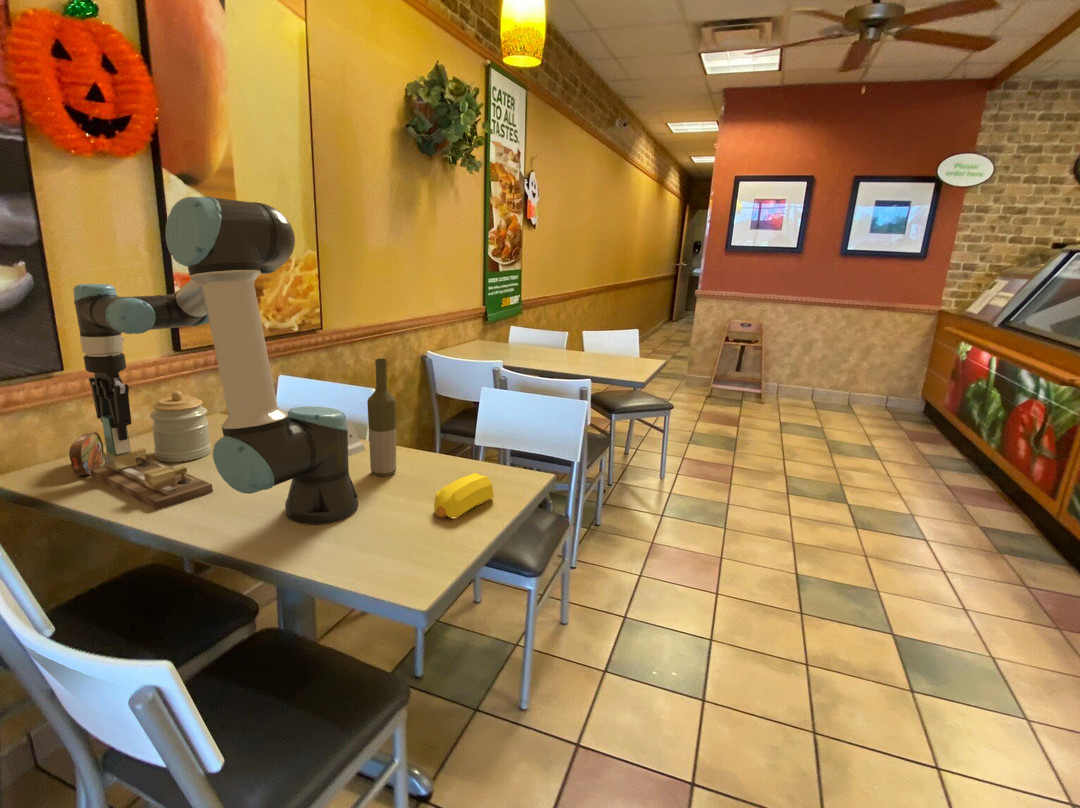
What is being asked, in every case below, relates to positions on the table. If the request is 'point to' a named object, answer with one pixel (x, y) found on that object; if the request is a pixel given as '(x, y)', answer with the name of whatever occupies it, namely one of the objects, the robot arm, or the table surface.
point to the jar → (180, 428)
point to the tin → (86, 453)
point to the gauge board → (149, 492)
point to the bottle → (382, 425)
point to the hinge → (353, 441)
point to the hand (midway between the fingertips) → (118, 450)
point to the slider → (110, 456)
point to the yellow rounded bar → (462, 495)
